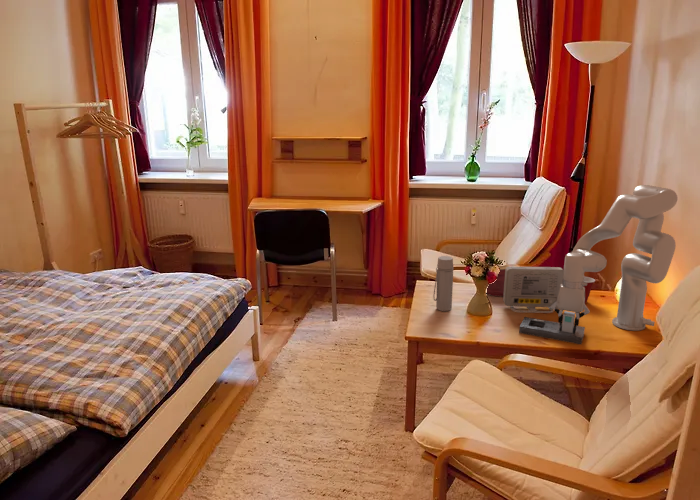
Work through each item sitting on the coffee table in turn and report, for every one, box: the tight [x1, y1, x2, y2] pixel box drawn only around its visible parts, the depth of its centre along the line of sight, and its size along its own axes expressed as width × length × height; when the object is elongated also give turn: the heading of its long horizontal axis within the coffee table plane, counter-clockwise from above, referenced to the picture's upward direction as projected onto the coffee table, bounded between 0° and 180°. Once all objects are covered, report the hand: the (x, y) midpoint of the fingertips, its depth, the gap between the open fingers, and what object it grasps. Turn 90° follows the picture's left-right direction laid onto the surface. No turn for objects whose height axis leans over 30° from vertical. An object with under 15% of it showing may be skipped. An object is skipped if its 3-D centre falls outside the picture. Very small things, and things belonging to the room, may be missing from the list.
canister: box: [486, 258, 510, 297], centre depth 258 cm, size 13×13×18 cm
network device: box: [502, 266, 564, 314], centre depth 236 cm, size 26×9×20 cm, turn 84°
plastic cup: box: [583, 276, 596, 304], centre depth 245 cm, size 11×11×12 cm
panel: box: [518, 316, 585, 345], centre depth 213 cm, size 24×11×3 cm, turn 61°
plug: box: [562, 310, 576, 333], centre depth 209 cm, size 4×5×10 cm
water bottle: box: [432, 255, 454, 312], centre depth 236 cm, size 9×8×25 cm
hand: (568, 325), depth 209 cm, fingers open, 4 cm apart
